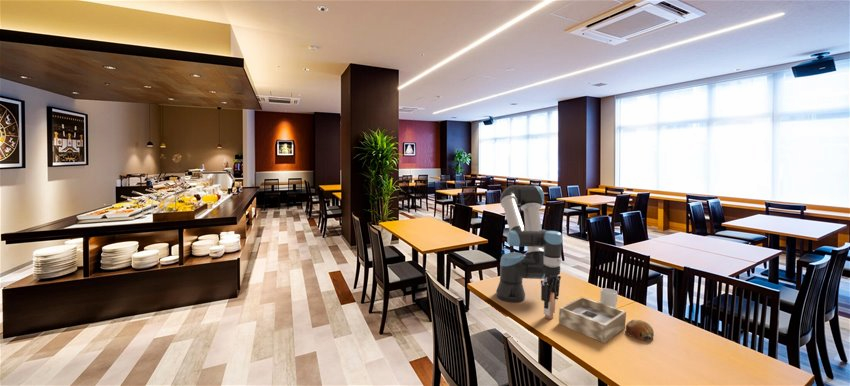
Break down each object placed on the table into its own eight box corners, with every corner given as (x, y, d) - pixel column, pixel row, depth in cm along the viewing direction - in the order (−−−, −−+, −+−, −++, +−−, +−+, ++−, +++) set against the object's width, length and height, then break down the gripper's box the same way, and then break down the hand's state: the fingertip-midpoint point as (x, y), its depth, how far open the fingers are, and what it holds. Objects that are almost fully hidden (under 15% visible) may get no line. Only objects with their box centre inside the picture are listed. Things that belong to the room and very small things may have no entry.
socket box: (558, 323, 151) (559, 307, 150) (580, 311, 163) (581, 296, 162) (604, 343, 135) (605, 325, 134) (625, 327, 148) (626, 311, 147)
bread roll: (650, 341, 144) (649, 321, 146) (658, 342, 135) (656, 321, 137) (624, 337, 147) (623, 318, 149) (630, 338, 138) (629, 317, 140)
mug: (608, 319, 155) (610, 294, 154) (596, 313, 161) (597, 289, 160) (622, 315, 159) (624, 291, 158) (609, 309, 165) (611, 286, 164)
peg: (543, 317, 157) (544, 292, 156) (547, 314, 159) (548, 290, 158) (550, 319, 154) (551, 295, 153) (554, 317, 156) (555, 293, 155)
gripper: (549, 270, 146) (546, 321, 148) (568, 263, 156) (566, 311, 159) (534, 266, 152) (531, 315, 154) (554, 259, 162) (551, 305, 165)
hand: (549, 313), depth 157 cm, fingers closed on peg, 3 cm apart
